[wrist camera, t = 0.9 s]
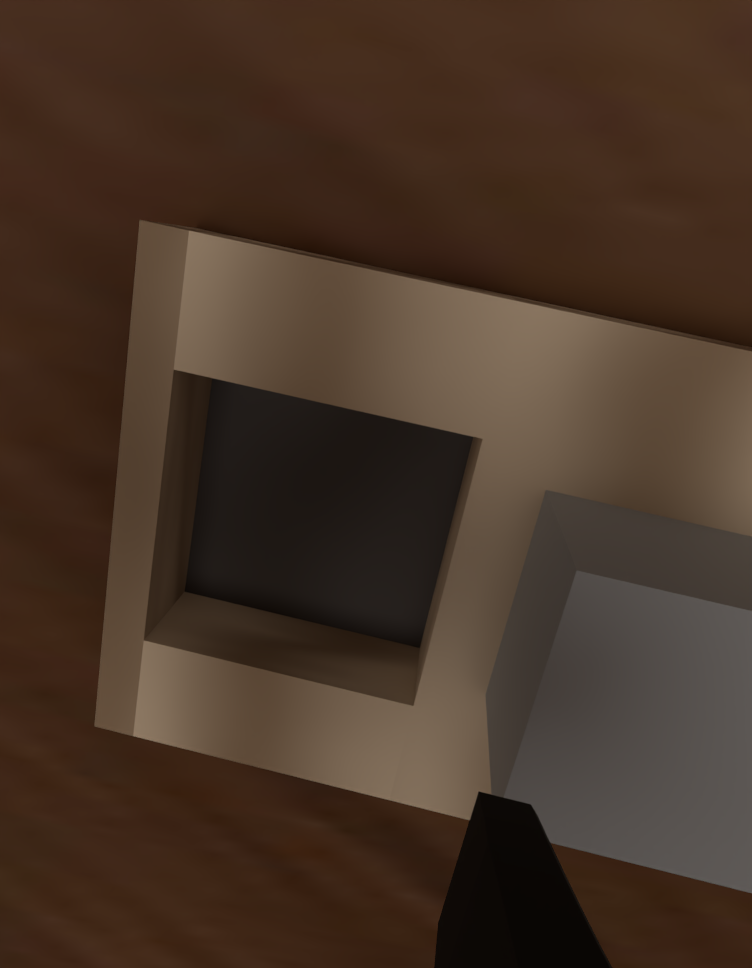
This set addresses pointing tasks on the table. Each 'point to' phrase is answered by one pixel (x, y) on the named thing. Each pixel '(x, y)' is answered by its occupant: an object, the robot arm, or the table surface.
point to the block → (630, 690)
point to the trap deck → (370, 499)
